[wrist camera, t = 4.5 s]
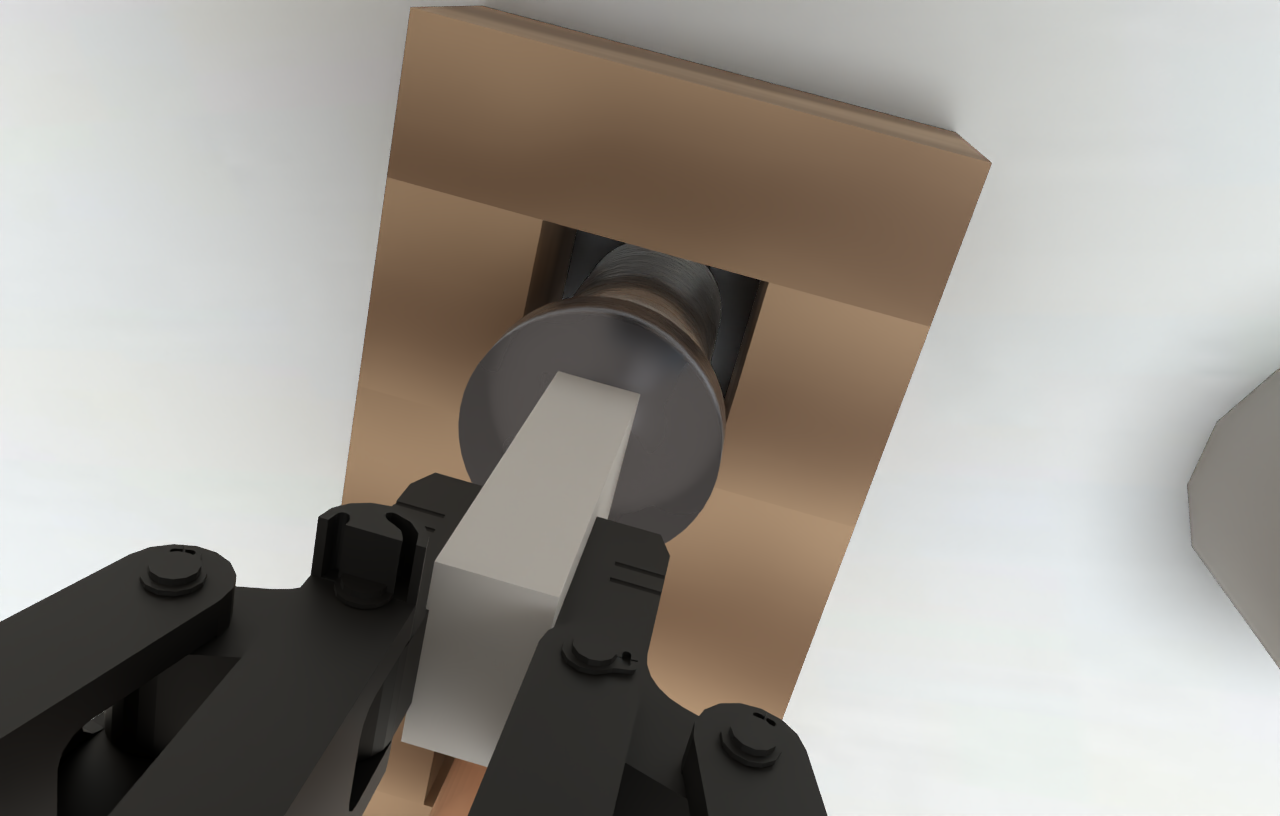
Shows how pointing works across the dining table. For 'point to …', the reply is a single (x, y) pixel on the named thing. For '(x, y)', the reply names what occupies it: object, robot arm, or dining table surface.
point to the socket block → (678, 226)
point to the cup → (1243, 509)
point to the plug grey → (618, 381)
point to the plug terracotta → (458, 789)
